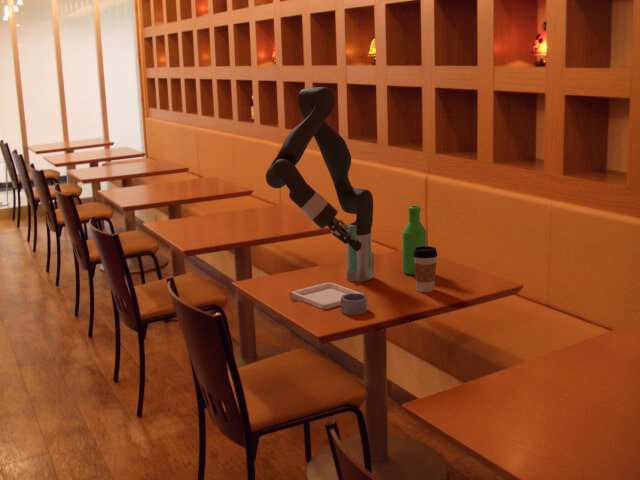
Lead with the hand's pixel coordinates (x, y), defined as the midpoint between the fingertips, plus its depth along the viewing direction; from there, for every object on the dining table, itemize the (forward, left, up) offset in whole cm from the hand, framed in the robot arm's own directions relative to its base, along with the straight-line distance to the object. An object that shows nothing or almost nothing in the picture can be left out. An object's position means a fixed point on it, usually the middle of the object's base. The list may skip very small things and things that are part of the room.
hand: (359, 247), depth 245 cm
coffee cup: (-32, -4, -22) cm, 39 cm away
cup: (+2, -1, -22) cm, 22 cm away
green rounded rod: (+2, -1, -7) cm, 7 cm away
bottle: (-44, -22, -22) cm, 54 cm away
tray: (0, -18, -22) cm, 28 cm away
